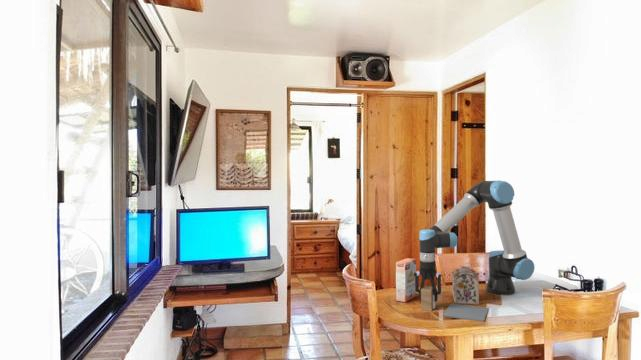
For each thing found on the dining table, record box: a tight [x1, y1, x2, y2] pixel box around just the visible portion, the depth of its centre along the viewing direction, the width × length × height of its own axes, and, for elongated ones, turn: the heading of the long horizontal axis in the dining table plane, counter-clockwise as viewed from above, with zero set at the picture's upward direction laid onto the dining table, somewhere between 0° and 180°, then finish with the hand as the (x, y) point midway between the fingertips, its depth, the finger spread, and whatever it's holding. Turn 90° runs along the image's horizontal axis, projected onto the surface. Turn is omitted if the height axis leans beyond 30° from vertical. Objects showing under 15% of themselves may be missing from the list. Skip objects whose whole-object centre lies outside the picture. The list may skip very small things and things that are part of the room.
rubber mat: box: [442, 303, 489, 323], centre depth 193 cm, size 20×18×1 cm
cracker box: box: [395, 257, 417, 303], centre depth 217 cm, size 14×6×21 cm, turn 143°
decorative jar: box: [452, 265, 480, 306], centre depth 212 cm, size 12×12×18 cm
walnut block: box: [420, 284, 434, 312], centre depth 202 cm, size 9×5×10 cm, turn 152°
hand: (428, 306), depth 202 cm, fingers closed on walnut block, 5 cm apart
